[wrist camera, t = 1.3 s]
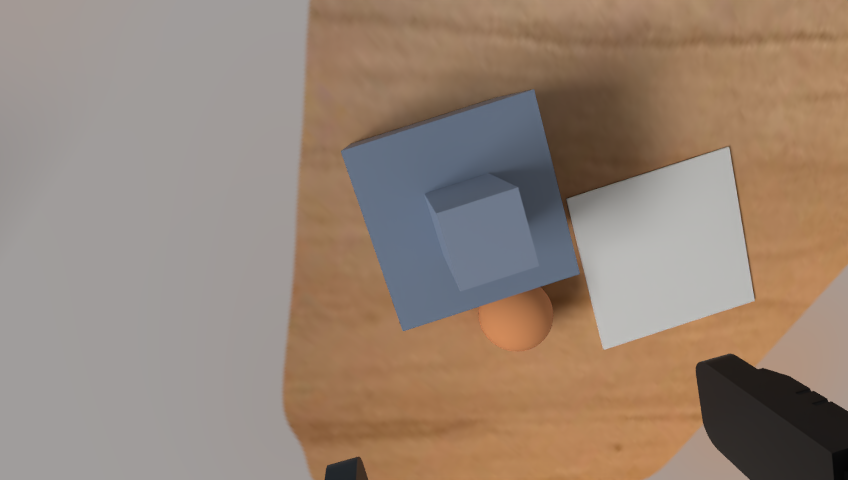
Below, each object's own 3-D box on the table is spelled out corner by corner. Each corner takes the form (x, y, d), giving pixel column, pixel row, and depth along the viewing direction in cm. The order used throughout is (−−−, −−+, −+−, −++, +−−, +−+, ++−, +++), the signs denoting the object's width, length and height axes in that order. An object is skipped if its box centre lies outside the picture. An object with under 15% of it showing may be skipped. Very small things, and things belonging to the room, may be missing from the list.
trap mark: (565, 198, 37) (566, 199, 37) (727, 146, 37) (729, 146, 37) (602, 348, 40) (603, 349, 39) (752, 299, 40) (754, 300, 40)
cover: (350, 144, 35) (329, 159, 20) (496, 97, 35) (577, 79, 21) (397, 283, 37) (408, 384, 23) (534, 239, 37) (630, 312, 23)
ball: (464, 281, 38) (477, 304, 33) (531, 259, 38) (553, 280, 33) (483, 342, 39) (498, 374, 34) (547, 321, 39) (571, 350, 34)
